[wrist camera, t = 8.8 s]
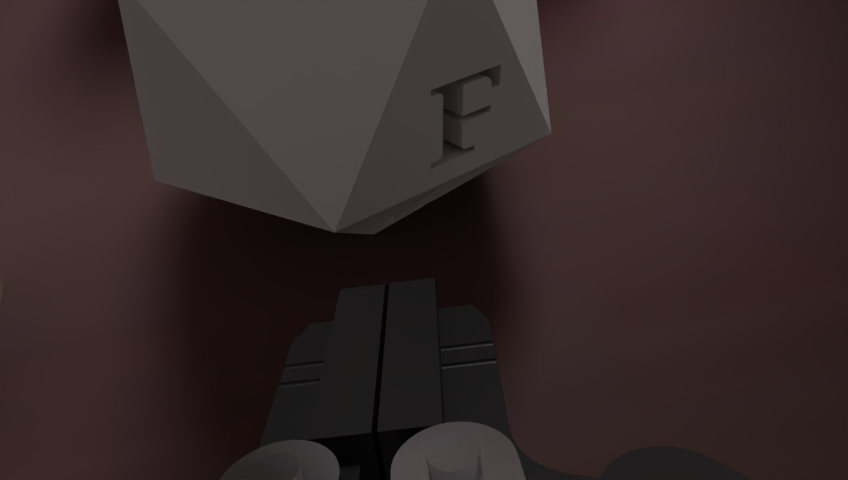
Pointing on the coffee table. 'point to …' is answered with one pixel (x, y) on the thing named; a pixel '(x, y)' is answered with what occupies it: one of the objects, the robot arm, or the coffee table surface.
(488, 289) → the coffee table surface
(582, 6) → the coffee table surface
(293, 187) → the die
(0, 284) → the letter block
